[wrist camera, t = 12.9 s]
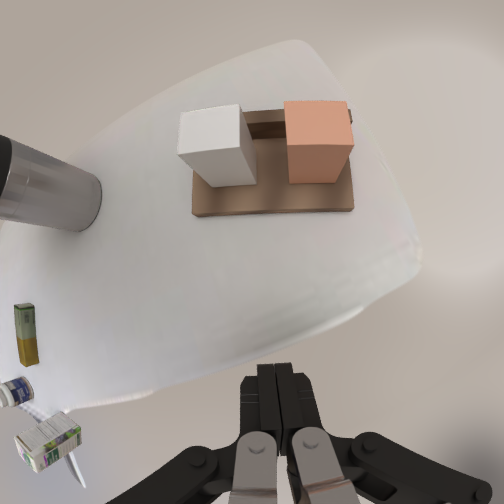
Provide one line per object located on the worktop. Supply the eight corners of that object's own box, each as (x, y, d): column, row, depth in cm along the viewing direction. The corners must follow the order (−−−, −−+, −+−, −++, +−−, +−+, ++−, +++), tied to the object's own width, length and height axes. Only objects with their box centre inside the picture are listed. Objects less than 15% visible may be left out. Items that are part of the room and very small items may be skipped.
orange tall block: (289, 183, 28) (287, 145, 18) (287, 150, 29) (283, 101, 19) (335, 183, 28) (354, 144, 18) (331, 149, 28) (346, 101, 18)
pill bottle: (35, 402, 36) (6, 416, 27) (22, 390, 37) (-6, 401, 28) (33, 384, 37) (1, 396, 27) (20, 372, 37) (-11, 382, 28)
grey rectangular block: (212, 187, 30) (177, 154, 20) (213, 155, 30) (180, 112, 20) (256, 184, 29) (239, 146, 19) (256, 151, 29) (239, 103, 19)
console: (197, 216, 32) (177, 207, 26) (200, 141, 33) (183, 120, 27) (350, 211, 29) (363, 199, 24) (341, 133, 30) (350, 109, 24)
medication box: (28, 301, 37) (13, 303, 33) (35, 305, 37) (19, 307, 33) (33, 359, 37) (19, 363, 33) (40, 363, 36) (26, 368, 32)
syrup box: (82, 444, 34) (38, 475, 20) (62, 428, 35) (17, 454, 21) (81, 426, 34) (33, 458, 20) (60, 410, 35) (11, 436, 21)
